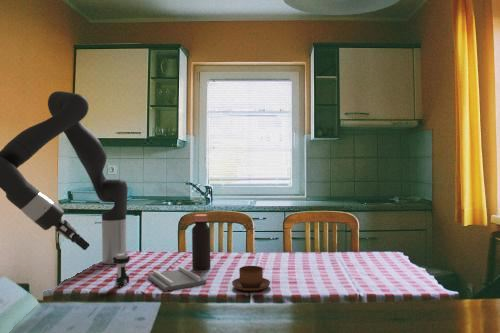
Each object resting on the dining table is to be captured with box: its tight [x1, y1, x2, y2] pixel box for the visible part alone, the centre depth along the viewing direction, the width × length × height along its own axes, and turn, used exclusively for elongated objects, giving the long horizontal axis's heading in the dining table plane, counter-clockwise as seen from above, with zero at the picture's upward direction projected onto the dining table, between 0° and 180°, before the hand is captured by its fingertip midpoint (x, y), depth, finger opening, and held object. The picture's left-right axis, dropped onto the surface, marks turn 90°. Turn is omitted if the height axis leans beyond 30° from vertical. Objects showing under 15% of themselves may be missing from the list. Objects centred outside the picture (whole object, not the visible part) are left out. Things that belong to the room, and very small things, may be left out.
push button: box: [113, 252, 131, 288], centre depth 127 cm, size 7×5×10 cm
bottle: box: [191, 213, 211, 271], centre depth 148 cm, size 7×7×20 cm
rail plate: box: [147, 265, 207, 292], centre depth 132 cm, size 17×14×2 cm
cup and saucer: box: [231, 265, 271, 292], centre depth 124 cm, size 12×12×6 cm
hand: (84, 245), depth 121 cm, fingers open, 8 cm apart
